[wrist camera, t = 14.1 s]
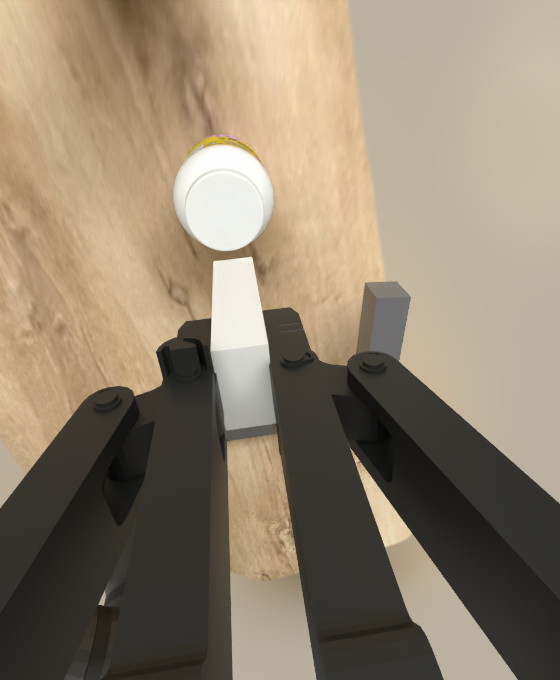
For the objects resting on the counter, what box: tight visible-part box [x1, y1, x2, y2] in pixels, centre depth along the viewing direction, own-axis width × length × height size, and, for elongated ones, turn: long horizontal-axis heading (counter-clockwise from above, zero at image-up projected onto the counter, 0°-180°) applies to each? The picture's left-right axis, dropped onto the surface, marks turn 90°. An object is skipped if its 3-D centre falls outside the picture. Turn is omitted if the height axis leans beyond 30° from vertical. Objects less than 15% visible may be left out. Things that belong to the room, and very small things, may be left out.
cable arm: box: [356, 282, 411, 361], centre depth 40 cm, size 17×4×4 cm, turn 179°
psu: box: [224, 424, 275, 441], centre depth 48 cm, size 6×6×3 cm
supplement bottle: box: [173, 135, 274, 251], centre depth 31 cm, size 7×7×13 cm
